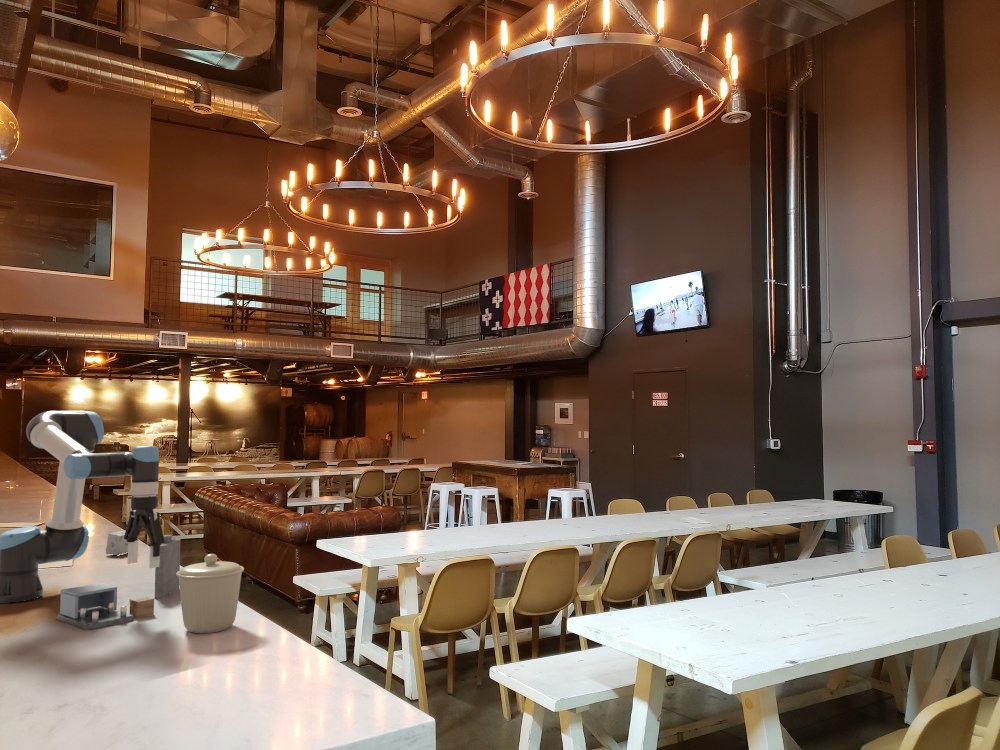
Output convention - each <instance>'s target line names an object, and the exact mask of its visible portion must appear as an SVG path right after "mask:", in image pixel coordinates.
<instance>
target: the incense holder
mask: <svg viewBox="0 0 1000 750" xmlns="http://www.w3.org/2000/svg"><path fill="white" fill-rule="evenodd" d="M125 531H126V529H125V530H120V531H113V532H108V534H107V540H106V546H105V555H108V554H113V555H119V554H122V553H126V552H128V542H127V539H124V535H125ZM128 535H129V534H128ZM113 555H112V556H113Z"/></svg>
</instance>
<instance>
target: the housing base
mask: <svg viewBox="0 0 1000 750" xmlns="http://www.w3.org/2000/svg"><path fill="white" fill-rule="evenodd" d="M56 617H57V620H58V621H60V622H63V623H66V624H69V625H72V626H74V627H77V628H79V629H82V630H85V631H90V630H91V629H92V630H96V629H100V628H106V627H109V626H115V625H118V624H123V623H127V622H132V621H134V617H133V615H131V614H130V613H127V605H121V606H120V610H114V602H109V603H108V609H107V608H104V607H101V606H99V607H94V608H88V609H86V607H82V608H80V610H78V618H72V617H69V616H66V615H63V614H60V613H59V614H57V616H56ZM114 624H115V625H114ZM105 626H106V627H105ZM95 628H96V629H95ZM92 630H91V631H92Z"/></svg>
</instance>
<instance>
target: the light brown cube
mask: <svg viewBox="0 0 1000 750" xmlns="http://www.w3.org/2000/svg"><path fill="white" fill-rule="evenodd" d="M129 614H131V615H133V619H134V618H136V619H142V618H146V617H151V616H154V615H155V597H154V598H153V597H150V596H141V597H137V598H132V599H129Z"/></svg>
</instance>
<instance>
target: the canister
mask: <svg viewBox="0 0 1000 750" xmlns="http://www.w3.org/2000/svg"><path fill="white" fill-rule="evenodd" d="M244 570H245V568H244V566H243V565H240V564H238V563H237V562H233V561H218V556H217V554H215V553H209V554H206V555H205V556H204V560H203V562H198V563H193V564H192V563H191V564H189V565H187V566H184V567H183V568H182V567H181V568H180V571H178V572H177V573H176V575H177V576H178V577H179V594H180V595H179V596H180V604H181V615H182V622H183V627H184V628H185V629H186V630H187V631H188V632H190V633H193V634H194V633H195V634H211V633H217V632H221V631H224V630H227V629H229V628H230V627H232V626H233V624H234V622H235V621H236V620H235V619H236V616H237V610H238V603H239V597H240V588H241V581H242V573H243V572H244Z"/></svg>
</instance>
